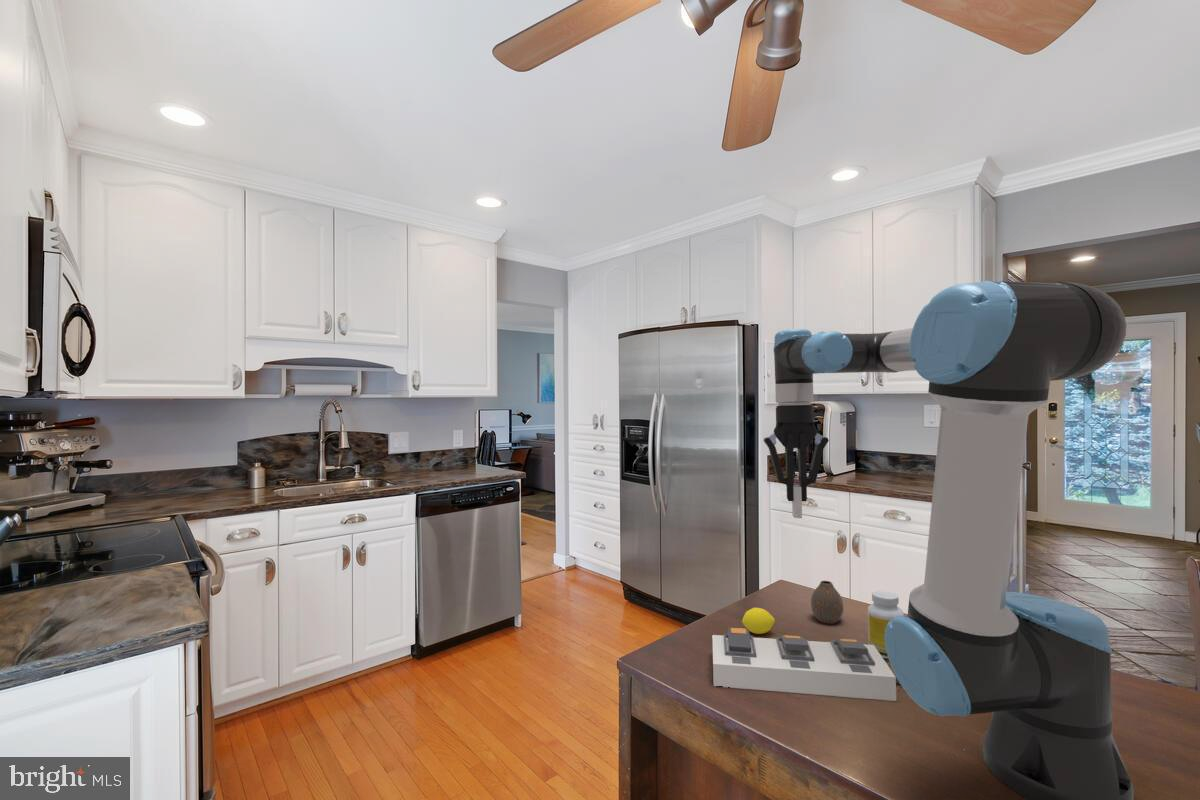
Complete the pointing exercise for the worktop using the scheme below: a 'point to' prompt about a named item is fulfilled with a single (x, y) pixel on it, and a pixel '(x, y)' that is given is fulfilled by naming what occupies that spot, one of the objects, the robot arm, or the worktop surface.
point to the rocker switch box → (803, 669)
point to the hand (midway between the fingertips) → (797, 516)
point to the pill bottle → (881, 618)
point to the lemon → (758, 620)
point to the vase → (827, 603)
